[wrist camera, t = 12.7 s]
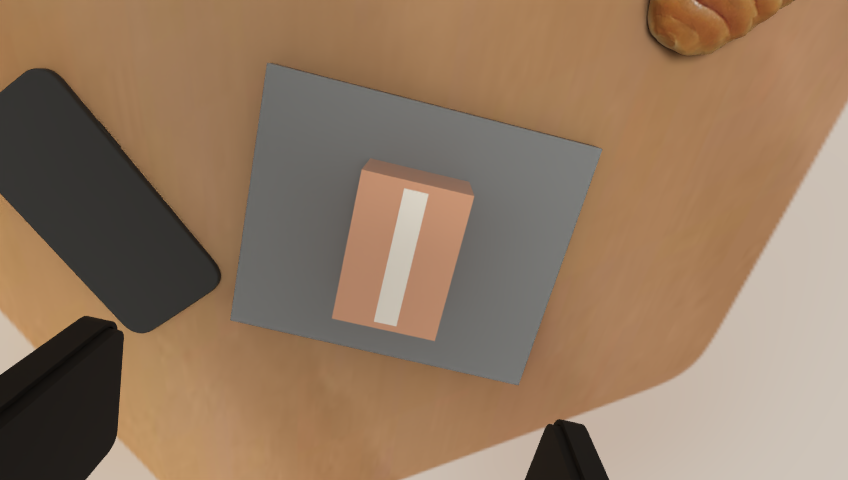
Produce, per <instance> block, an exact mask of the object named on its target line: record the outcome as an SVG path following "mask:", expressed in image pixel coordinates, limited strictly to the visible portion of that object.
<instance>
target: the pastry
mask: <svg viewBox="0 0 848 480" xmlns="http://www.w3.org/2000/svg"><path fill="white" fill-rule="evenodd" d="M792 1H794V0H650V4H649V10H648V16H647V18H648V25H649V30H650V32H651V34H652V35H653V36H654V37H655V38H656V39H657V40H658V41H659V42H660V43H661V44H662V45H664V46H665V47H667V48H670V49H672V50H674V51H676V52H678V53H680V54H682V55H688V56H689V55H699V54H710V53H713V52H714V51H715V50H717V49H718V48H720V47H722V46H723V45H725V44H726V43H728V42H730V41H732V40H733V39H737V38H740V37H743V36H745V35H746V34H747V33H748V32H749V31H751V30H752V29H753V28H754V27H755V26H756V25H758V24H759V23H761V22H763V21H765V20H767V19H768V18H770V17H771V16H773V15H774V14H775V13H776V12H777V11H778V10H779V9H781V8H783V7H785V6H787V5H789V4H791V2H792Z"/></svg>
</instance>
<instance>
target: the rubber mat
mask: <svg viewBox="0 0 848 480" xmlns="http://www.w3.org/2000/svg"><path fill="white" fill-rule="evenodd" d="M601 152H602V149H601V148H598V147H596V146H592V145H588V144H584V143H580V142H576V141H572V140H569V139H565V138H561V137H557V136H553V135H549V134H545V133H541V132H537V131H534V130H530V129H526V128H522V127H518V126H514V125H510V124H506V123H503V122H499V121H495V120H491V119H487V118H483V117H479V116H475V115H472V114H468V113H464V112H460V111H456V110H452V109H448V108H444V107H441V106H437V105H433V104H429V103H425V102H421V101H417V100H413V99H409V98H406V97H402V96H398V95H394V94H390V93H386V92H382V91H378V90H375V89H371V88H367V87H363V86H359V85H355V84H351V83H347V82H344V81H340V80H336V79H332V78H328V77H324V76H320V75H316V74H313V73H309V72H305V71H301V70H297V69H293V68H289V67H285V66H281V65H278V64H274V63H267V68H266V75H265V82H264V89H263V96H262V103H261V110H260V117H259V124H258V131H257V138H256V145H255V152H254V159H253V166H252V173H251V180H250V187H249V194H248V200H247V207H246V214H245V221H244V228H243V235H242V242H241V249H240V256H239V263H238V270H237V277H236V284H235V291H234V298H233V305H232V312H231V319H230V320H232V321H236V322H240V323H245V324H249V325H254V326H258V327H263V328H267V329H271V330H276V331H280V332H285V333H289V334H294V335H298V336H302V337H307V338H311V339H316V340H320V341H325V342H329V343H333V344H338V345H342V346H347V347H351V348H356V349H360V350H364V351H369V352H373V353H378V354H382V355H387V356H391V357H395V358H400V359H404V360H409V361H413V362H418V363H422V364H426V365H431V366H435V367H440V368H444V369H449V370H453V371H457V372H462V373H466V374H471V375H475V376H480V377H484V378H488V379H493V380H497V381H502V382H506V383H511V384H515V385H519V382H520V379H521V377H522V374H523V371H524V368H525V365H526V363H527V360H528V357H529V354H530V351H531V349H532V346H533V343H534V340H535V337H536V334H537V332H538V329H539V326H540V323H541V320H542V318H543V315H544V312H545V309H546V306H547V304H548V301H549V298H550V295H551V292H552V289H553V287H554V284H555V281H556V278H557V275H558V273H559V270H560V267H561V264H562V261H563V259H564V256H565V253H566V250H567V247H568V244H569V242H570V239H571V236H572V233H573V230H574V228H575V225H576V222H577V219H578V216H579V214H580V211H581V208H582V205H583V202H584V199H585V197H586V194H587V191H588V188H589V185H590V183H591V180H592V177H593V174H594V171H595V169H596V166H597V163H598V160H599V157H600V154H601ZM370 158H371V159H375V160H380V161H384V162H388V163H392V164H396V165H401V166H405V167H409V168H413V169H417V170H422V171H426V172H430V173H434V174H438V175H443V176H447V177H451V178H455V179H459V180H464V181H468V182H470V185H471V188H472V191H473V194H474V200H473V203H472V207H471V211H470V214H469V218H468V222H467V225H466V229H465V233H464V236H463V240H462V243H461V247H460V251H459V254H458V258H457V262H456V265H455V269H454V273H453V276H452V280H451V284H450V287H449V291H448V295H447V298H446V302H445V305H444V309H443V313H442V316H441V320H440V324H439V327H438V331H437V335H436V338H435V341H432V340H428V339H423V338H419V337H414V336H409V335H405V334H400V333H396V332H391V331H387V330H382V329H378V328H373V327H368V326H364V325H359V324H355V323H350V322H346V321H341V320H336V319H332V315H333V310H334V305H335V300H336V295H337V290H338V285H339V280H340V275H341V270H342V265H343V260H344V255H345V250H346V245H347V240H348V235H349V230H350V225H351V220H352V215H353V210H354V205H355V200H356V195H357V190H358V185H359V180H360V175H361V170H362V168H363V167H364V166H365V164H366V163H367V162H368V161H369V159H370Z"/></svg>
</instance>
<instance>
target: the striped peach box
mask: <svg viewBox="0 0 848 480" xmlns="http://www.w3.org/2000/svg"><path fill="white" fill-rule="evenodd" d="M473 200H474V194H473V191H472V188H471V185H470V182H468V181H464V180H459V179H455V178H451V177H447V176H443V175H438V174H434V173H430V172H426V171H422V170H417V169H413V168H409V167H405V166H401V165H396V164H392V163H388V162H384V161H380V160H375V159H371V158H370V159H369V161H368V162H367V163H366V164H365V166H364V167H363V168H362V170H361V175H360V180H359V185H358V190H357V195H356V200H355V205H354V210H353V215H352V220H351V225H350V230H349V235H348V240H347V245H346V250H345V255H344V260H343V265H342V270H341V275H340V280H339V285H338V290H337V295H336V300H335V305H334V310H333V315H332V319H336V320H341V321H346V322H350V323H355V324H359V325H364V326H368V327H373V328H378V329H382V330H387V331H391V332H396V333H400V334H405V335H409V336H414V337H419V338H423V339H428V340H432V341H435V338H436V335H437V331H438V327H439V324H440V320H441V316H442V313H443V309H444V305H445V302H446V298H447V295H448V291H449V287H450V284H451V280H452V276H453V273H454V269H455V265H456V262H457V258H458V254H459V251H460V247H461V243H462V240H463V236H464V233H465V229H466V225H467V222H468V218H469V214H470V211H471V207H472V203H473Z"/></svg>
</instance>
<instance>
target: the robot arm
mask: <svg viewBox="0 0 848 480" xmlns="http://www.w3.org/2000/svg"><path fill="white" fill-rule="evenodd" d="M123 341H124V334H123V332H122V331H120V330H117V325H116V323H114V322H112V321H108V320H103V319H99V318H94V317H89V316H84V317H82V318H80V319H78V320H77V321H75V322H74V323H73V324H71V325H70V326H68V327H67V328H66V329H64V330H63V331H61V332H60V333H59V334H57V335H56V336H54V337H53V338H52V339H50V340H49V341H47V342H46V343H45V344H43V345H42V346H40V347H39V348H37V349H36V350H35V351H33V352H32V353H30V354H29V355H28V356H26V357H25V358H23V359H22V360H21V361H19V362H18V363H16V364H15V365H14V366H12V367H11V368H9V369H8V370H7V371H5V372H4V373H2V374H1V375H0V480H85V479H86V478H87V477H88V476H89V475H90V474H91V472H92V471H93V470H94V469H95V468H96V467H97V465H98V464H99V463H100V462H101V460H102V459H103V458H104V457H105V456H106V455H107V453H108V452H109V451H110V449H111V448H112V446H113V444H114V442H115V439H116V436H117V428H118V414H119V399H120V385H121V370H122V356H123ZM525 480H609V478H608V476H607V474H606V471H605V469H604V467H603V465H602V463H601V460H600V458H599V456H598V454H597V451H596V449H595V447H594V445H593V442H592V440H591V438H590V436H589V433H588V431H587V429H586V427H585V426H584V425H582V424H578V423H574V422H570V421H565V420H560V419H559V420H557V421H556V422H555V423H554V425H552V424H548V425H547V426H546V428H545V430H544V433H543V435H542V438H541V440H540V443H539V445H538V448H537V450H536V453H535V455H534V458H533V461H532V463H531V465H530V468H529V470H528V473H527V476H526V478H525Z"/></svg>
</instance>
